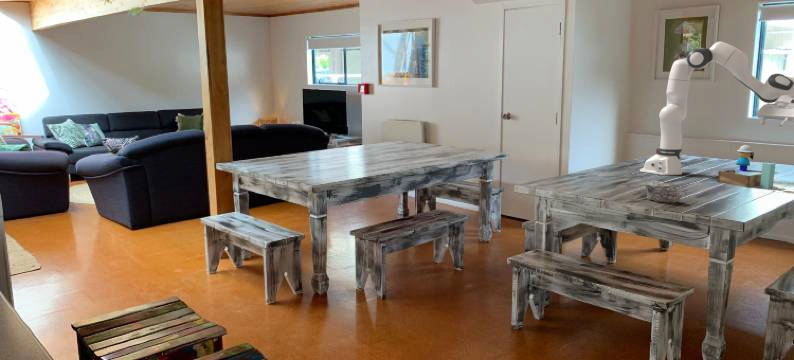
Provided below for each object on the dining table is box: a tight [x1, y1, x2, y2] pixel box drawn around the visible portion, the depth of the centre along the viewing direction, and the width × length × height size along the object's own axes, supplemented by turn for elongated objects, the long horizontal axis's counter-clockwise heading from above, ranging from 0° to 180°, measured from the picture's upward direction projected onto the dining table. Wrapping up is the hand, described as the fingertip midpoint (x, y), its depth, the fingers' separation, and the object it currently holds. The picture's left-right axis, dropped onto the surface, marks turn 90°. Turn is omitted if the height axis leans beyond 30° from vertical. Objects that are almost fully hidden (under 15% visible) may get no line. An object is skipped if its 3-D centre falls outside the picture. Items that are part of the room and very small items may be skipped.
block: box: [760, 162, 776, 188], centre depth 310 cm, size 4×4×12 cm
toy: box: [735, 144, 755, 172], centre depth 364 cm, size 8×9×15 cm
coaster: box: [755, 185, 778, 193], centre depth 311 cm, size 8×9×1 cm
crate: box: [717, 168, 761, 188], centre depth 321 cm, size 12×16×6 cm
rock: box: [644, 181, 682, 204], centre depth 284 cm, size 16×8×10 cm, turn 49°
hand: (771, 124), depth 314 cm, fingers open, 8 cm apart
